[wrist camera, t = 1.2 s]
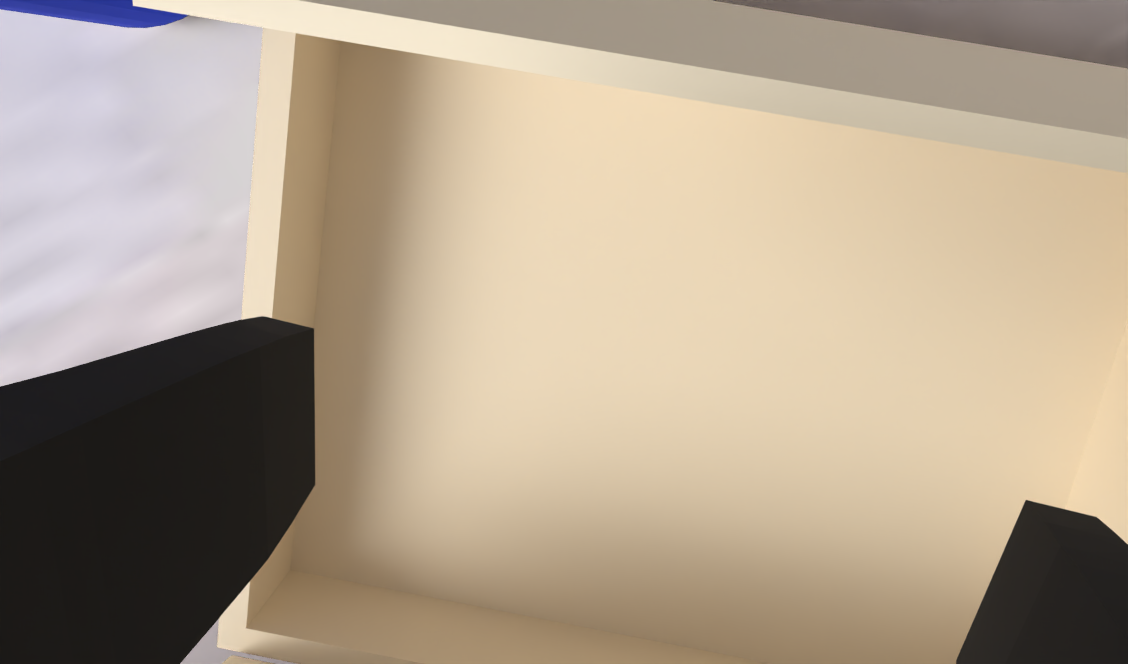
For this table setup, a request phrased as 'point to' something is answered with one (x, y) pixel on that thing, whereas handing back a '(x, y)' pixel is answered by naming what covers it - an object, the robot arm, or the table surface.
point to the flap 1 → (243, 660)
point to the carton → (663, 370)
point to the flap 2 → (746, 64)
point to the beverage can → (95, 11)
